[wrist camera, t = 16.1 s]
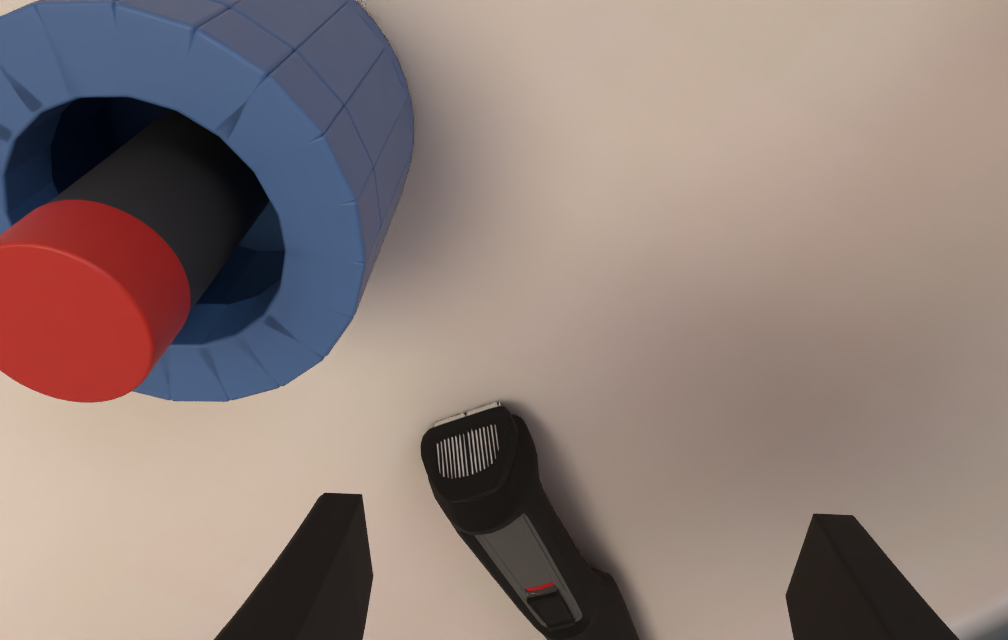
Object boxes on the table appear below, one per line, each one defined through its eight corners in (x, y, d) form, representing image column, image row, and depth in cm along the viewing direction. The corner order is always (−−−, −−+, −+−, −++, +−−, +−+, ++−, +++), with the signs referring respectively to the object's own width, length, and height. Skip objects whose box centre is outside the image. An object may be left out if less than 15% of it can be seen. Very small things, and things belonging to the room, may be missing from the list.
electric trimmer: (585, 674, 33) (589, 750, 30) (413, 427, 25) (398, 501, 22) (669, 656, 32) (681, 733, 29) (517, 393, 24) (515, 466, 21)
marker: (239, 40, 18) (12, 203, 10) (332, 131, 19) (191, 338, 11) (169, 120, 19) (-82, 320, 11) (261, 201, 20) (89, 432, 12)
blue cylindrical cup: (245, -140, 16) (94, -119, 11) (478, 149, 19) (451, 275, 14) (34, 85, 19) (-169, 190, 14) (268, 302, 22) (179, 456, 17)
